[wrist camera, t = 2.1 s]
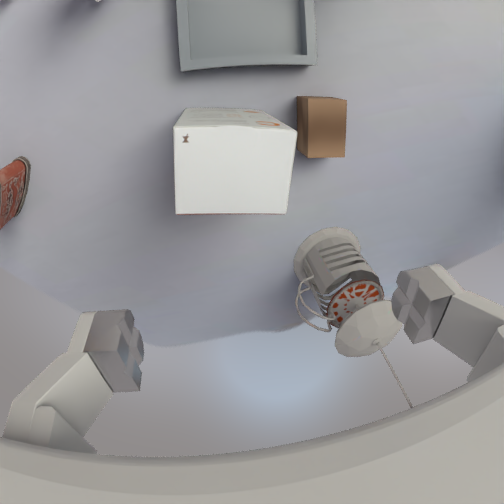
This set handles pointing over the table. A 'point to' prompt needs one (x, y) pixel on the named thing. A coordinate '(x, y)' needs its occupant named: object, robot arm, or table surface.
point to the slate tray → (245, 33)
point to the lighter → (13, 188)
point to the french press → (346, 293)
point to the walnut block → (321, 126)
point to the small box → (232, 162)
